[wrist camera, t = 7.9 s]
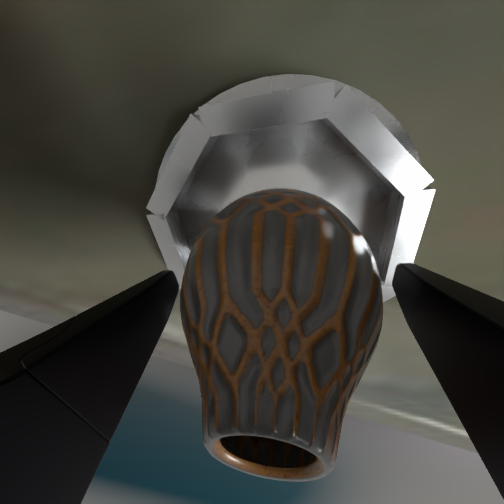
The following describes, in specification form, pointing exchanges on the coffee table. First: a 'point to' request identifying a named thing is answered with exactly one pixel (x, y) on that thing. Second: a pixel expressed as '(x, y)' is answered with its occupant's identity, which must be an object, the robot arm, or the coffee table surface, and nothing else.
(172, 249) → the rosette plate
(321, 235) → the vase
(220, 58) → the coffee table surface
